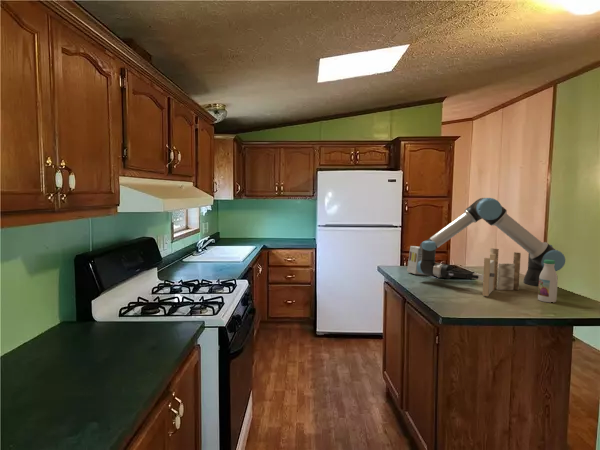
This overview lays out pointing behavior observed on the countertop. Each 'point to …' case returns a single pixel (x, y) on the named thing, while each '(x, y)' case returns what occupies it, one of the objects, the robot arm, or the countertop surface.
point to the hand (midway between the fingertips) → (485, 278)
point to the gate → (489, 274)
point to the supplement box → (414, 259)
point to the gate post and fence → (507, 273)
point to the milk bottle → (548, 282)
